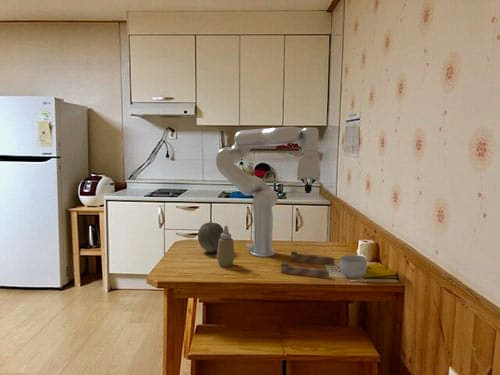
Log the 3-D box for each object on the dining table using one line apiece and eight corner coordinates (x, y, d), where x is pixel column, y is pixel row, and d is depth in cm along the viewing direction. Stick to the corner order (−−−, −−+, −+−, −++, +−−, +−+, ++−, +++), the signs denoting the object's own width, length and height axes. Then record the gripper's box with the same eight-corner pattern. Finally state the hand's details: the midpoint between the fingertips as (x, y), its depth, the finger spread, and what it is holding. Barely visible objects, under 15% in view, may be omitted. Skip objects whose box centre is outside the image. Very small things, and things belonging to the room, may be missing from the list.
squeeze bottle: (237, 263, 178) (237, 225, 176) (230, 268, 170) (231, 228, 168) (220, 261, 180) (221, 223, 178) (213, 266, 173) (214, 227, 171)
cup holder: (280, 272, 166) (281, 264, 166) (292, 258, 186) (292, 251, 186) (327, 278, 160) (328, 269, 159) (334, 263, 180) (334, 255, 179)
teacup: (362, 282, 156) (363, 263, 155) (336, 277, 161) (336, 259, 160) (369, 272, 168) (370, 254, 167) (345, 268, 173) (345, 251, 173)
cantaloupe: (230, 250, 198) (231, 222, 197) (213, 257, 186) (213, 227, 185) (209, 246, 206) (209, 218, 204) (191, 252, 194) (191, 223, 192)
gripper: (292, 153, 180) (290, 192, 183) (324, 154, 176) (322, 194, 178) (295, 153, 187) (294, 191, 190) (326, 154, 183) (325, 192, 185)
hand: (308, 192), depth 184 cm, fingers closed
